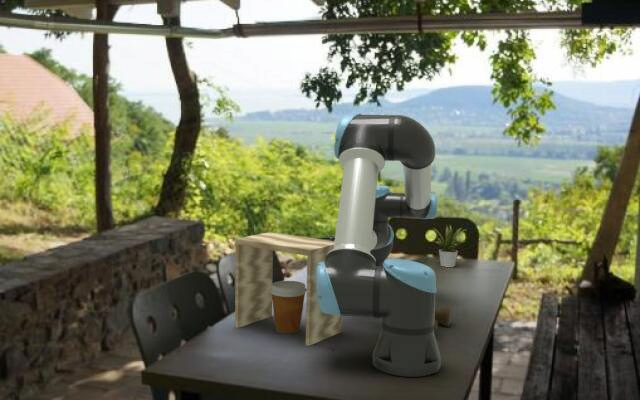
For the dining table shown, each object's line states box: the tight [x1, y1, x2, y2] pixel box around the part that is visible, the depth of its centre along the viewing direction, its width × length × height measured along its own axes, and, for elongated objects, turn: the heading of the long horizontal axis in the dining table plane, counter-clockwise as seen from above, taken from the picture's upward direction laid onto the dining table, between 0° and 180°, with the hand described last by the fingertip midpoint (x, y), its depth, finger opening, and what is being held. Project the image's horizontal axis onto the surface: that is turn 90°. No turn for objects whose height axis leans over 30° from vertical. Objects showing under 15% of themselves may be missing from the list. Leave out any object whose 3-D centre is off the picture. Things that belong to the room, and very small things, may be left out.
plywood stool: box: [234, 231, 342, 347], centre depth 178 cm, size 14×24×24 cm, turn 55°
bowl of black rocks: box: [370, 239, 394, 266], centre depth 259 cm, size 20×20×19 cm
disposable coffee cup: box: [270, 280, 307, 334], centre depth 179 cm, size 10×10×12 cm
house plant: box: [434, 224, 466, 267], centre depth 261 cm, size 14×14×16 cm
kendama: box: [434, 305, 452, 337], centre depth 184 cm, size 6×10×20 cm
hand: (317, 251), depth 188 cm, fingers open, 13 cm apart
